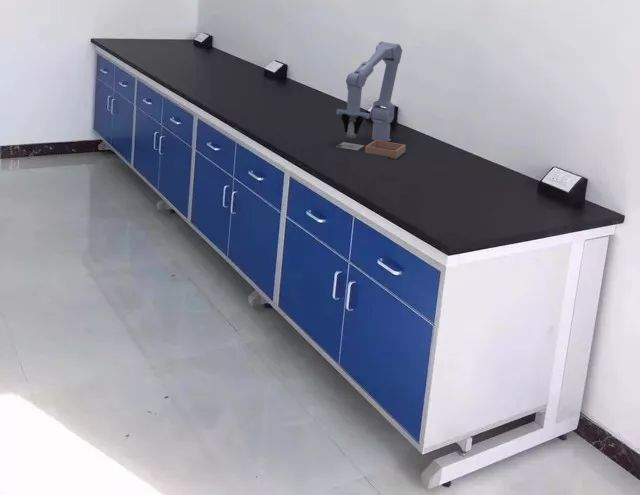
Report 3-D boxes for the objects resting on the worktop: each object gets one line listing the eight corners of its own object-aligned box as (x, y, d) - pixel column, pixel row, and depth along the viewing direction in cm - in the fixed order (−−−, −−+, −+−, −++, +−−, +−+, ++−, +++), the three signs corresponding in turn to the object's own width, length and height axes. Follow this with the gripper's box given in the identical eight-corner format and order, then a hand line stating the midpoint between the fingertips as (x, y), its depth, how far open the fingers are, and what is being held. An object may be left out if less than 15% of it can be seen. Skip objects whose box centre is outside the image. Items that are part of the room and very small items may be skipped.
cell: (348, 135, 346) (349, 118, 344) (356, 136, 345) (358, 119, 342) (345, 137, 343) (346, 119, 340) (353, 138, 342) (355, 121, 339)
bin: (374, 147, 349) (375, 140, 348) (405, 152, 345) (405, 144, 343) (364, 154, 337) (365, 146, 335) (396, 159, 332) (396, 151, 331)
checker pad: (343, 143, 352) (343, 141, 351) (364, 147, 348) (364, 145, 348) (335, 148, 343) (335, 146, 342) (357, 152, 340) (357, 149, 339)
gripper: (334, 100, 337) (332, 131, 342) (367, 105, 333) (364, 136, 337) (340, 98, 343) (338, 128, 348) (372, 102, 339) (369, 133, 344)
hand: (351, 132), depth 343 cm, fingers closed on cell, 4 cm apart
